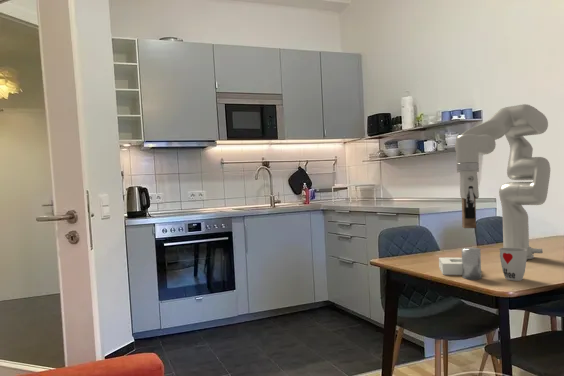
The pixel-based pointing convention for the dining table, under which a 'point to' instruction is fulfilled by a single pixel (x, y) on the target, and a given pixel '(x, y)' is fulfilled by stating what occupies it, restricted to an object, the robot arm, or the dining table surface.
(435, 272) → the dining table surface
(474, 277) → the grey cylinder
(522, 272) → the cup
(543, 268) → the dining table surface
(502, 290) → the dining table surface
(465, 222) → the walnut peg
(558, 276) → the dining table surface
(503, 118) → the robot arm
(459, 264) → the bore block
